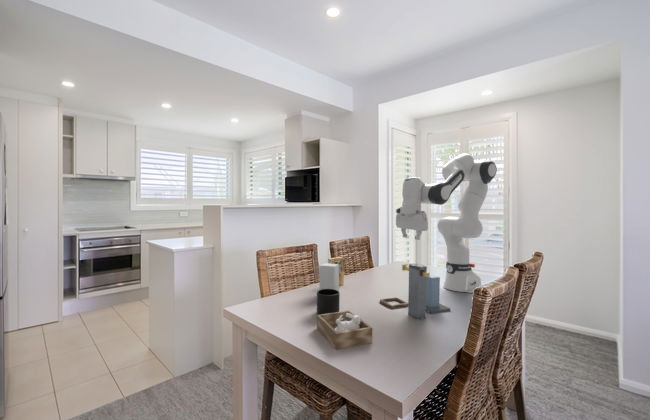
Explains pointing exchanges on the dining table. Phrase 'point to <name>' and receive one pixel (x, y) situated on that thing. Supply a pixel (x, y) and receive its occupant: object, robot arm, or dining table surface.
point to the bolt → (423, 273)
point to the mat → (437, 309)
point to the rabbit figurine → (348, 323)
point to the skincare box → (329, 276)
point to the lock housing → (417, 291)
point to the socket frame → (384, 301)
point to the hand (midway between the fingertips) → (411, 238)
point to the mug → (327, 301)
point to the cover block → (432, 291)
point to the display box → (344, 338)
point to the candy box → (341, 267)
